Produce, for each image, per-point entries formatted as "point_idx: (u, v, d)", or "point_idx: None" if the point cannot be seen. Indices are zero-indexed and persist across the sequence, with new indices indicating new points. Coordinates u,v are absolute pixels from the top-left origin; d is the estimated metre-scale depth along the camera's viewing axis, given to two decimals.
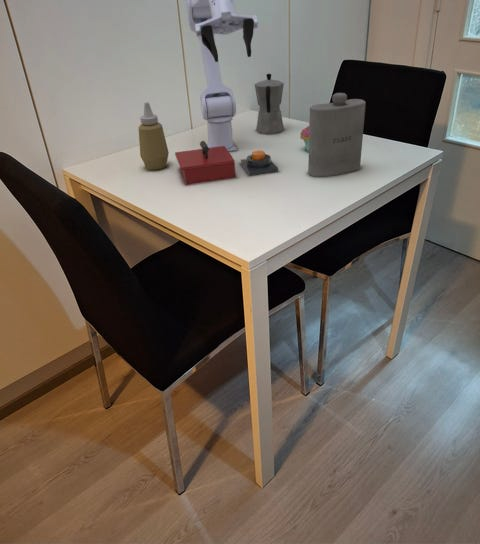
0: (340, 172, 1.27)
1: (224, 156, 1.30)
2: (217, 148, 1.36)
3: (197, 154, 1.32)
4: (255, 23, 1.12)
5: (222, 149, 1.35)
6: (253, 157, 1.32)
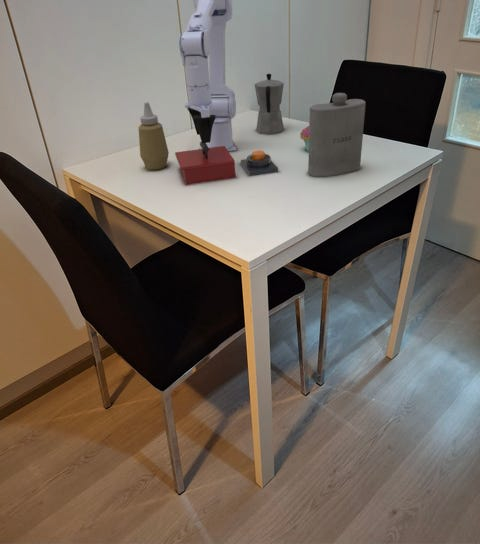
0: (340, 172, 1.27)
1: (224, 156, 1.30)
2: (217, 148, 1.36)
3: (197, 154, 1.32)
4: None
5: (222, 149, 1.35)
6: (253, 157, 1.32)
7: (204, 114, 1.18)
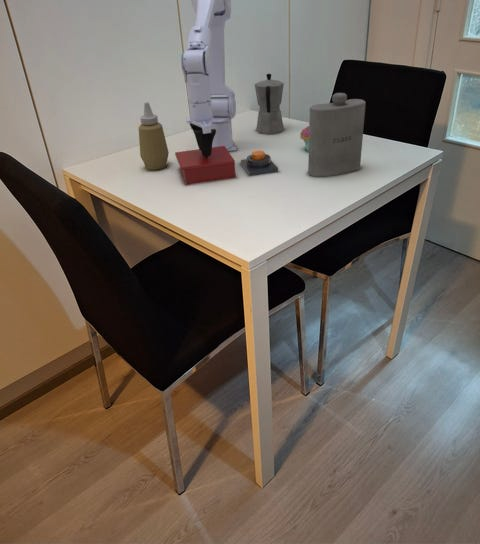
0: (340, 172, 1.27)
1: (224, 156, 1.30)
2: (217, 148, 1.36)
3: (197, 154, 1.32)
4: None
5: (222, 149, 1.35)
6: (253, 157, 1.32)
7: (205, 130, 1.20)
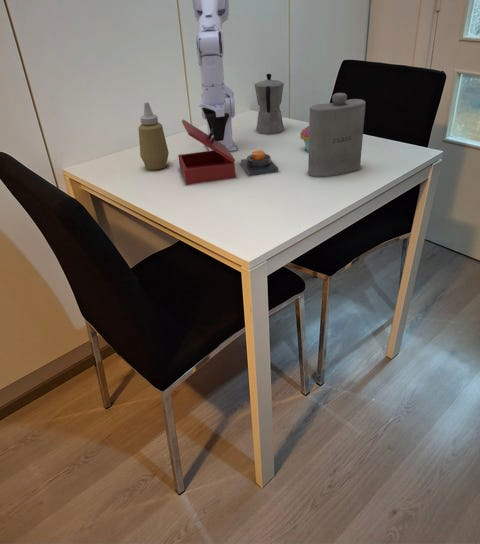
0: (340, 172, 1.27)
1: (226, 152, 1.29)
2: (219, 143, 1.35)
3: (203, 134, 1.30)
4: None
5: (224, 146, 1.35)
6: (253, 157, 1.32)
7: (219, 113, 1.19)
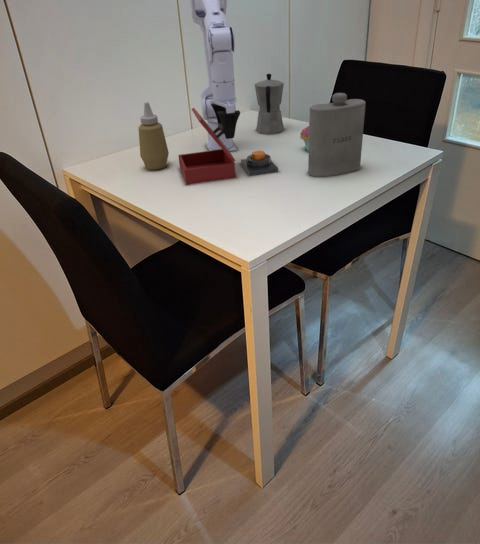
0: (340, 172, 1.27)
1: None
2: (221, 141, 1.35)
3: (209, 127, 1.29)
4: None
5: (225, 146, 1.35)
6: (253, 157, 1.32)
7: (229, 110, 1.19)
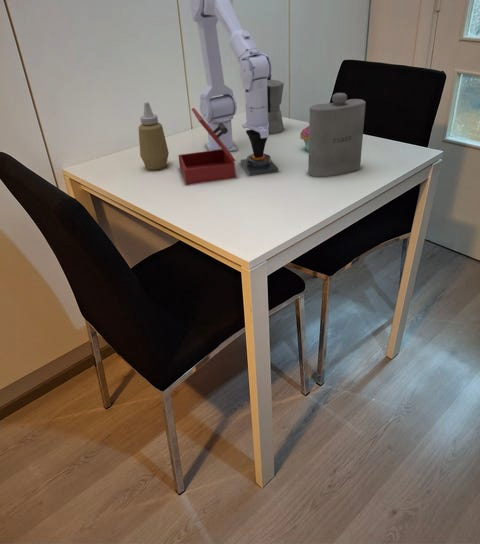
0: (340, 172, 1.27)
1: None
2: (221, 141, 1.35)
3: (209, 127, 1.29)
4: None
5: (225, 146, 1.35)
6: None
7: (264, 135, 1.23)
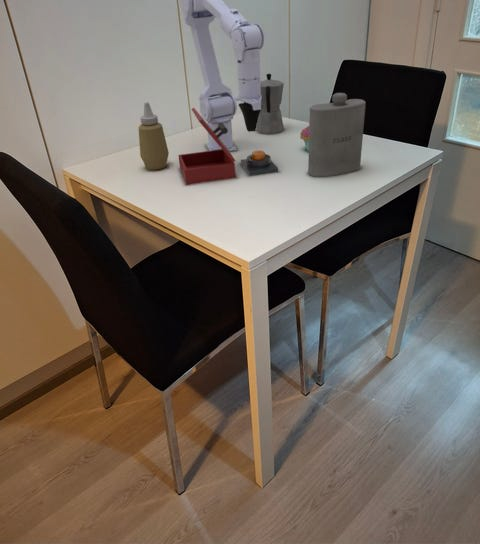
0: (340, 172, 1.27)
1: None
2: (221, 141, 1.35)
3: (209, 127, 1.29)
4: None
5: (225, 146, 1.35)
6: (253, 157, 1.32)
7: (256, 107, 1.21)
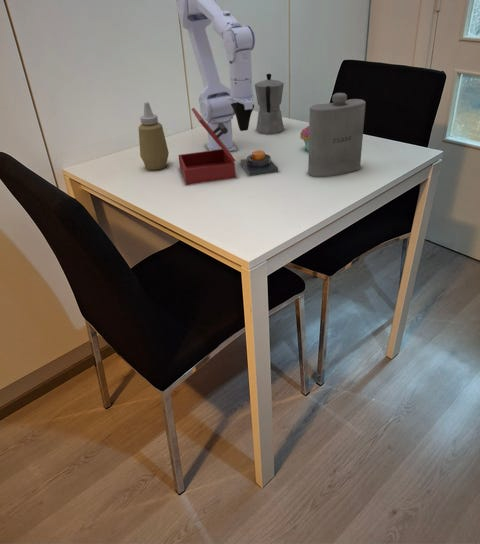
0: (340, 172, 1.27)
1: None
2: (221, 141, 1.35)
3: (209, 127, 1.29)
4: None
5: (225, 146, 1.35)
6: (253, 157, 1.32)
7: (248, 106, 1.24)
